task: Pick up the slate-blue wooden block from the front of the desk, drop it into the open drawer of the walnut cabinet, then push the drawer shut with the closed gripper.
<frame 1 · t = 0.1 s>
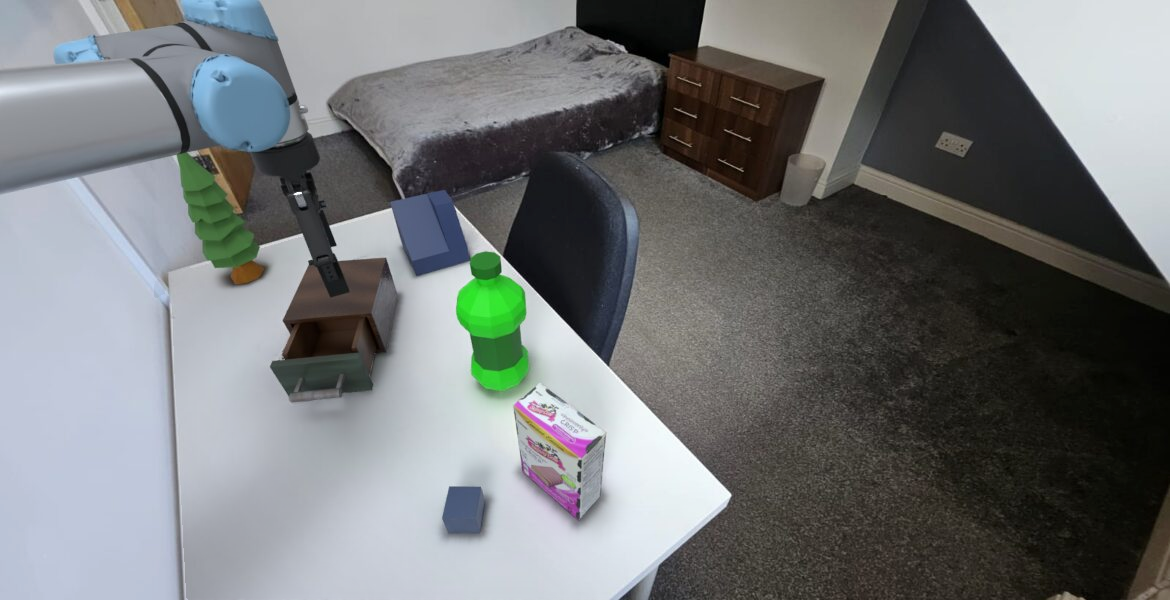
hand: (333, 269, 74), 18 cm above the table, tool pointing down, fingers open, 13 cm apart
drawer: (331, 354, 77), point 5 cm above the table, slide at 8.0 cm
block: (466, 516, 63), on the table
phone stand: (436, 254, 107), on the table
candy bar box: (560, 485, 66), on the table
cabinet: (355, 325, 89), on the table
decorative tree: (245, 276, 100), on the table
plastic bottle: (502, 378, 81), on the table
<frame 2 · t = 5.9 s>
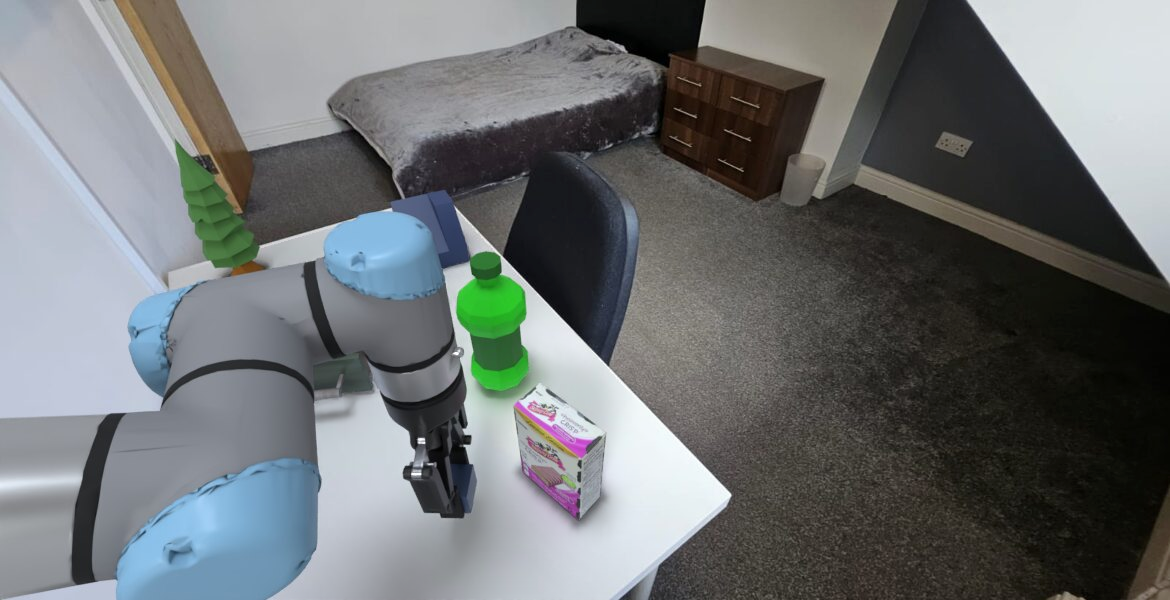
hand: (457, 495, 58), 6 cm above the table, tool pointing down, fingers closed on block, 4 cm apart
block: (457, 496, 59), point 6 cm above the table, touching gripper
everything else where it was.
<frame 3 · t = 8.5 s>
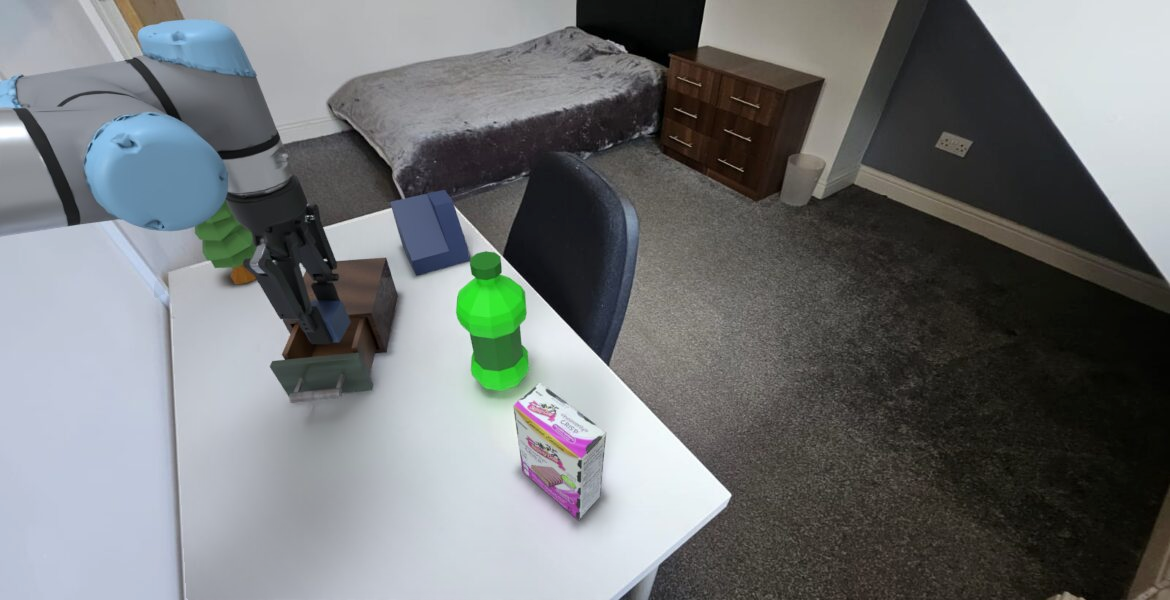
hand: (329, 329, 68), 15 cm above the table, tool pointing down, fingers closed on block, 4 cm apart
block: (330, 331, 68), point 15 cm above the table, touching gripper
everything else where it was.
when the fingers open (7 cm above the table, at t = 11.3 s): block drops 4 cm, resting on drawer.
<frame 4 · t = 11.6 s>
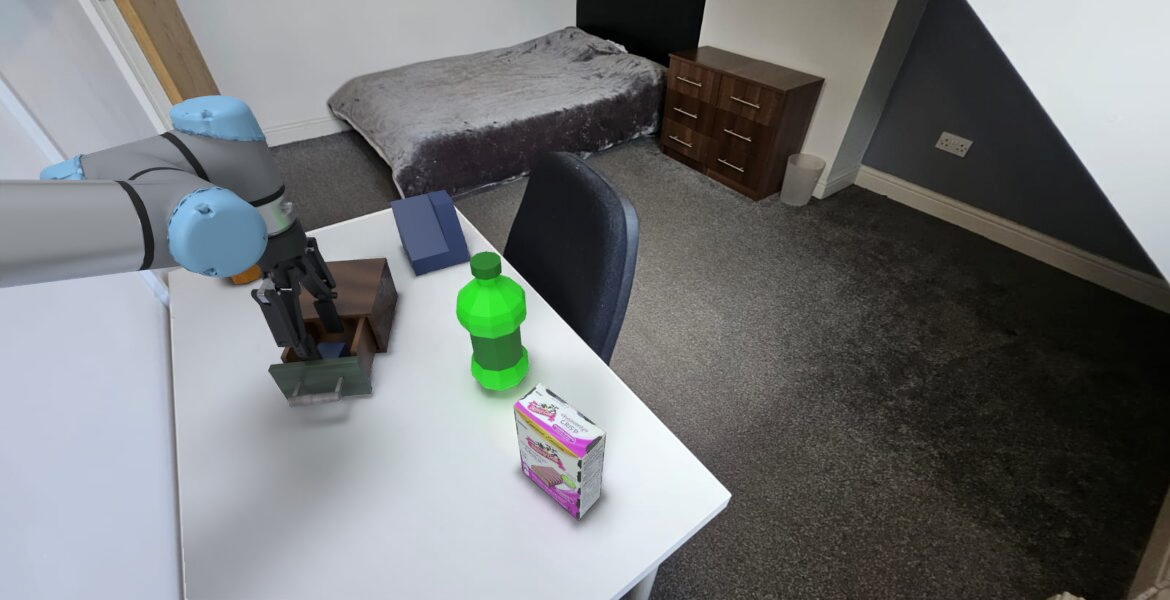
hand: (326, 347, 76), 7 cm above the table, tool pointing down, fingers open, 7 cm apart
drawer: (330, 357, 77), point 5 cm above the table, slide at 8.7 cm, touching block, gripper
block: (335, 369, 79), point 2 cm above the table, touching drawer
everything else where it was.
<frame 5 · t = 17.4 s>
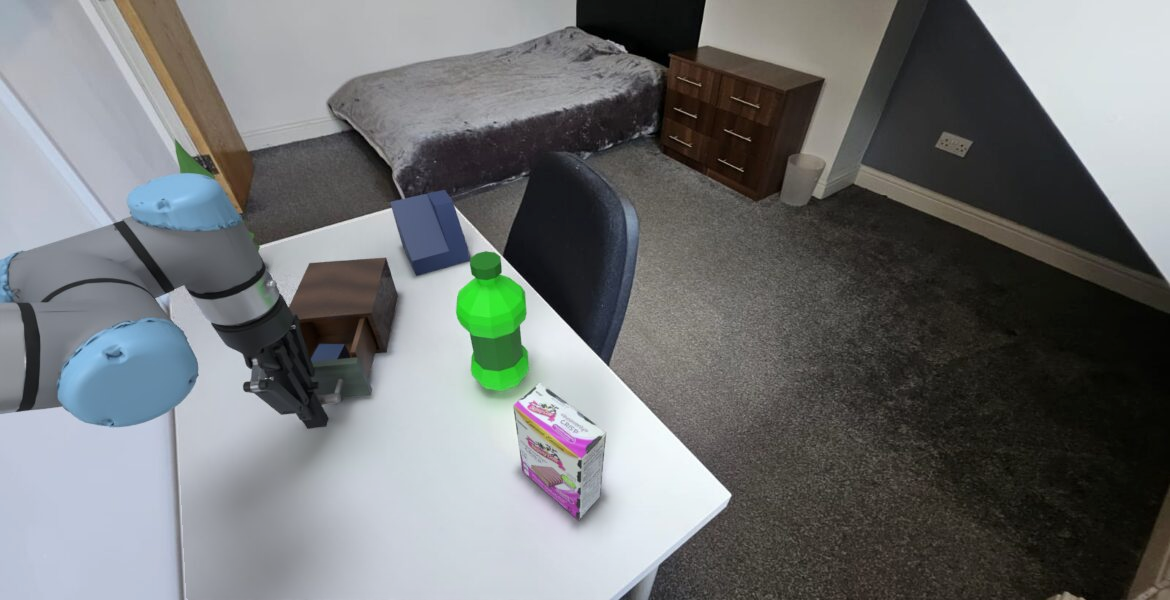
hand: (318, 423, 70), 3 cm above the table, tool pointing down, fingers closed
nothing on the table moved.
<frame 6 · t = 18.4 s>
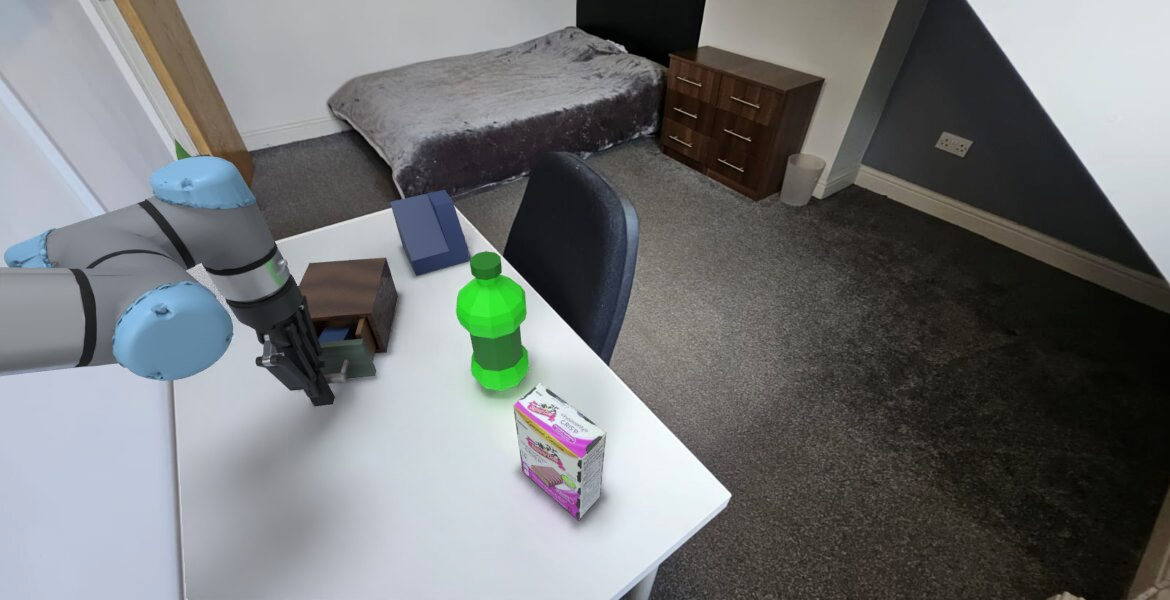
hand: (324, 401, 73), 3 cm above the table, tool pointing down, fingers closed
drawer: (335, 341, 79), point 5 cm above the table, slide at 5.0 cm, touching block, gripper
block: (340, 352, 81), point 2 cm above the table, touching drawer
everything else where it was.
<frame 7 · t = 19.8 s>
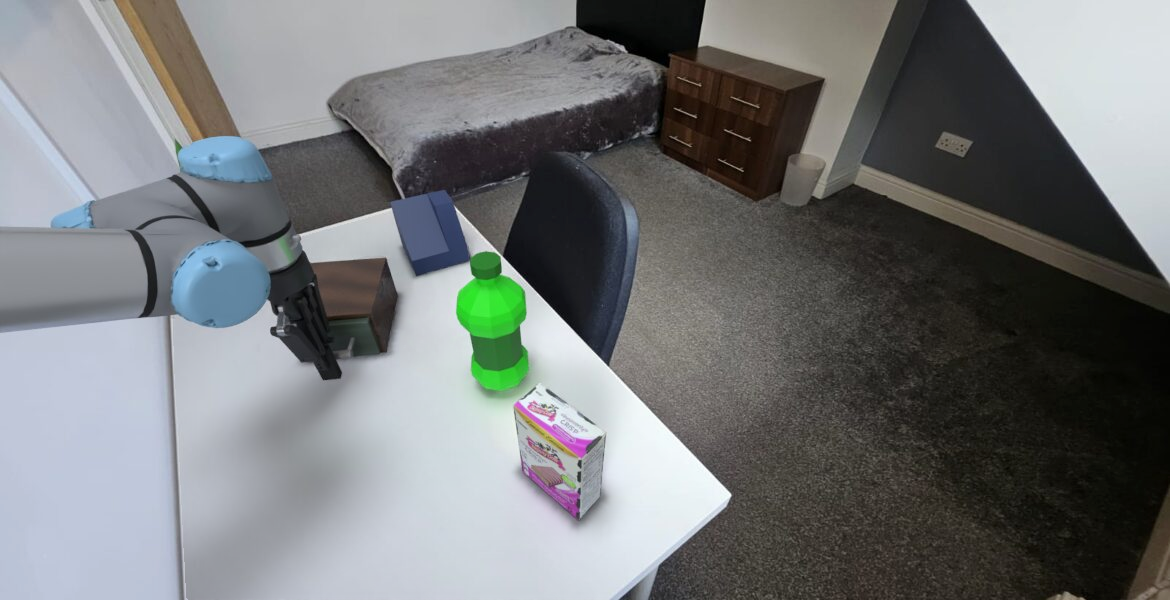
hand: (332, 376, 77), 3 cm above the table, tool pointing down, fingers closed
drawer: (342, 321, 83), point 5 cm above the table, slide at 0.0 cm, touching block, cabinet, gripper
block: (347, 332, 85), point 2 cm above the table, touching drawer
everything else where it was.
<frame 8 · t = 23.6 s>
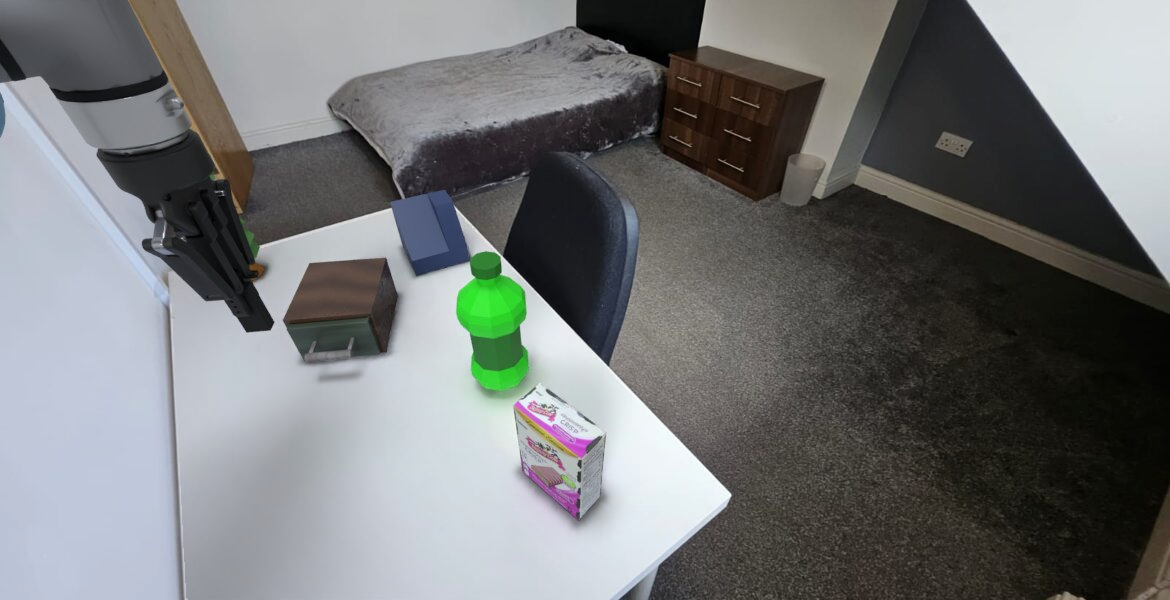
hand: (260, 327, 57), 22 cm above the table, tool pointing down, fingers closed
drawer: (342, 321, 83), point 5 cm above the table, slide at 0.0 cm, touching block
everything else where it was.
at the end: block inside the target area in the cabinet (3.8 cm from its centre), point 2.1 cm above the cabinet's base; drawer slide at 0.0 cm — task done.
